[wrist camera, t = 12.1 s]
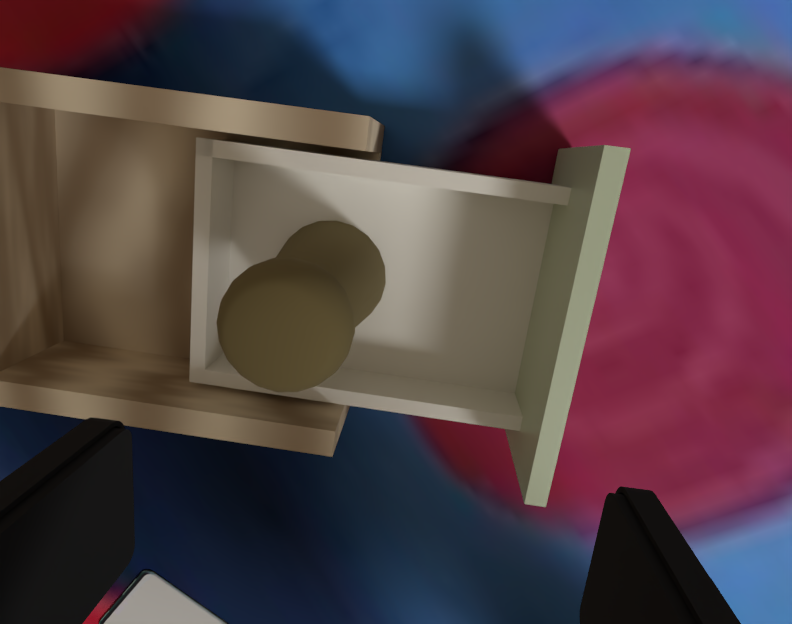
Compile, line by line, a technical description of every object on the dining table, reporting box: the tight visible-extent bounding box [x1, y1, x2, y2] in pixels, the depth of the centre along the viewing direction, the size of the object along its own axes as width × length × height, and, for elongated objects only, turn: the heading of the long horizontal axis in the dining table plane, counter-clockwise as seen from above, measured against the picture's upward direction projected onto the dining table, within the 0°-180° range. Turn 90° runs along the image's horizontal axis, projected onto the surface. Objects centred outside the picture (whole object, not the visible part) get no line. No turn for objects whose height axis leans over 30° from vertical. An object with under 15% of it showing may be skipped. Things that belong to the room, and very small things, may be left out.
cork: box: [216, 221, 386, 392], centre depth 25 cm, size 6×6×11 cm
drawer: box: [189, 137, 631, 507], centre depth 27 cm, size 18×16×8 cm
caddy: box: [0, 67, 385, 457], centre depth 29 cm, size 19×16×7 cm
